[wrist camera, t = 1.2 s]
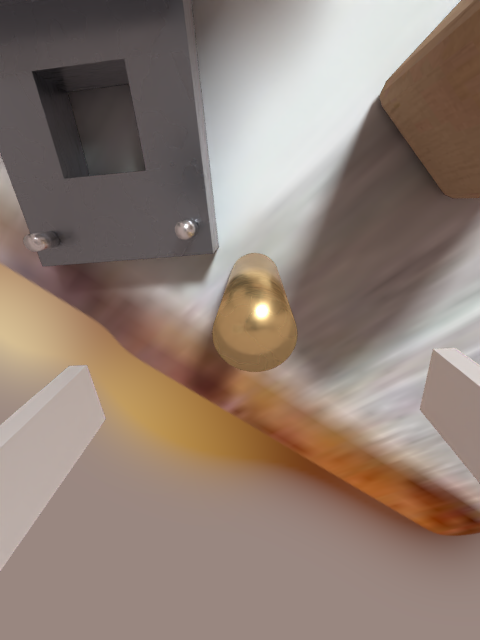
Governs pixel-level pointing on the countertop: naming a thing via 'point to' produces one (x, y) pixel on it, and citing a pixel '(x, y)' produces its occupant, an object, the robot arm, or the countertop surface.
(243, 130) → the countertop surface
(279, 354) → the brass cylinder
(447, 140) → the wooden block
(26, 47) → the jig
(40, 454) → the robot arm
